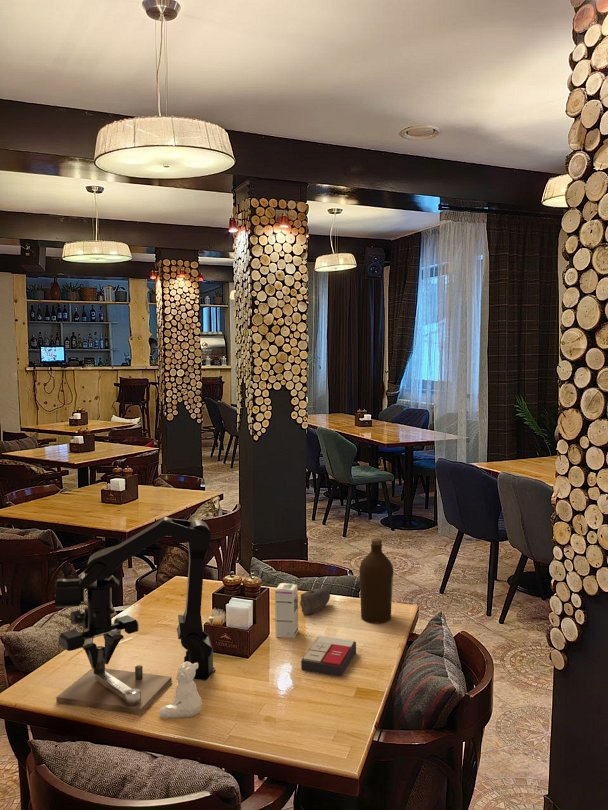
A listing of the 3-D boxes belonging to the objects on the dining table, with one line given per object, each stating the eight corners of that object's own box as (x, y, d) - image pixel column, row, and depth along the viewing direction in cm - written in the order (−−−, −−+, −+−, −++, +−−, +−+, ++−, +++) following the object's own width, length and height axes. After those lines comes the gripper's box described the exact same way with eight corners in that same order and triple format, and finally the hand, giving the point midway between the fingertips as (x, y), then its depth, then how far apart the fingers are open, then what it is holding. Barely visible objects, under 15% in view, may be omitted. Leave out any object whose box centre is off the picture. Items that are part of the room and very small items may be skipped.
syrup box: (294, 638, 195) (294, 590, 194) (274, 637, 196) (274, 588, 195) (298, 631, 200) (298, 583, 199) (279, 629, 201) (279, 582, 200)
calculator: (300, 658, 174) (318, 633, 189) (300, 673, 175) (319, 647, 189) (341, 664, 171) (356, 638, 185) (341, 680, 171) (356, 653, 185)
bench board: (171, 682, 168) (171, 665, 168) (141, 715, 152) (140, 696, 152) (93, 672, 173) (93, 655, 173) (56, 703, 158) (56, 684, 158)
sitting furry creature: (180, 698, 160) (179, 649, 159) (211, 705, 157) (211, 655, 156) (157, 717, 151) (156, 666, 151) (189, 725, 148) (189, 673, 147)
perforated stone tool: (323, 601, 225) (323, 581, 224) (336, 605, 221) (336, 584, 221) (295, 615, 213) (294, 593, 213) (307, 619, 210) (307, 597, 209)
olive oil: (365, 625, 204) (365, 545, 203) (354, 613, 214) (355, 536, 213) (397, 622, 206) (398, 543, 205) (386, 610, 217) (386, 534, 215)
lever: (144, 700, 155) (143, 669, 155) (130, 706, 152) (130, 674, 152) (103, 673, 169) (102, 644, 168) (89, 678, 166) (89, 648, 165)
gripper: (118, 588, 178) (118, 645, 178) (49, 604, 165) (49, 666, 166) (139, 599, 169) (139, 659, 170) (68, 617, 157) (68, 682, 158)
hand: (99, 665), depth 166 cm, fingers open, 3 cm apart
